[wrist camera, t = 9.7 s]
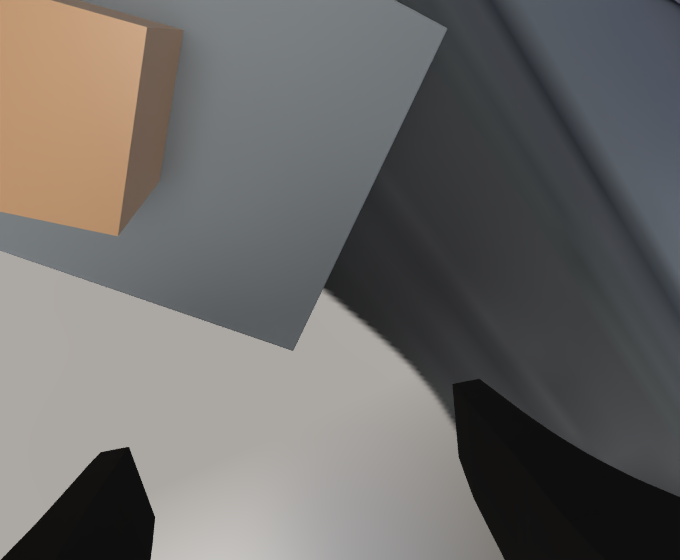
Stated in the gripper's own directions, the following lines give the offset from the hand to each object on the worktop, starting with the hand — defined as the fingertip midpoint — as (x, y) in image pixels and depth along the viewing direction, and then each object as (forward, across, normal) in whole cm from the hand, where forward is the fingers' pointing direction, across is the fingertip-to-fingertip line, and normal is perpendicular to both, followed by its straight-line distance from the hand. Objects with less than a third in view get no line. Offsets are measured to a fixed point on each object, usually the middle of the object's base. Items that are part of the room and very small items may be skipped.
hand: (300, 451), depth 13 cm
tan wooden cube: (+8, +4, -8) cm, 12 cm away
